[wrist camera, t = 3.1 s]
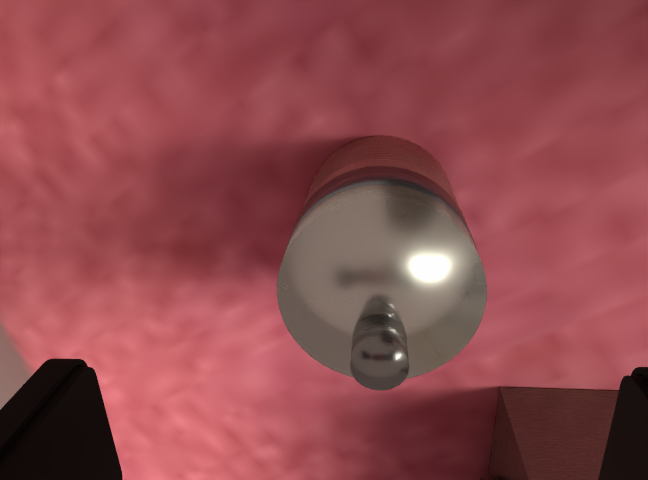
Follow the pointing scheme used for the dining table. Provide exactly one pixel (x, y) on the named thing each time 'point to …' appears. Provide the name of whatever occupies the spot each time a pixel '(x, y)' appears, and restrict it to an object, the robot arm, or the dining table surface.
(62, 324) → the dining table surface
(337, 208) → the silver lidded pot
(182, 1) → the dining table surface
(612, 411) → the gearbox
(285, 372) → the dining table surface
